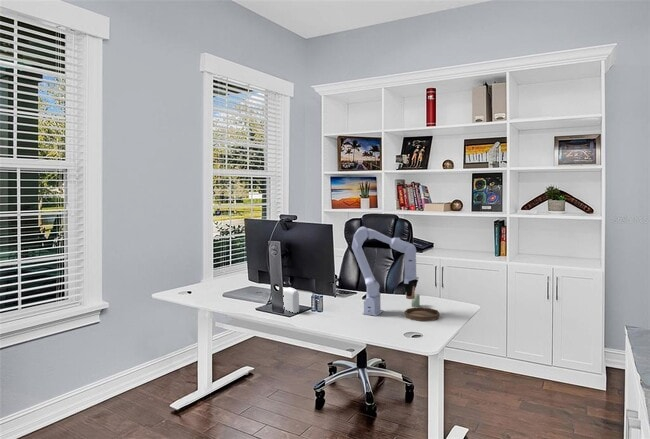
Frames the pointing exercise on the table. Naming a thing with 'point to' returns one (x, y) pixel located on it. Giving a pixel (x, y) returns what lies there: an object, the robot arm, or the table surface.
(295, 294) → the photo printer
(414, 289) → the terracotta bead
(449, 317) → the table surface
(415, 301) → the sage green bead
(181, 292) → the table surface
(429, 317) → the tray
